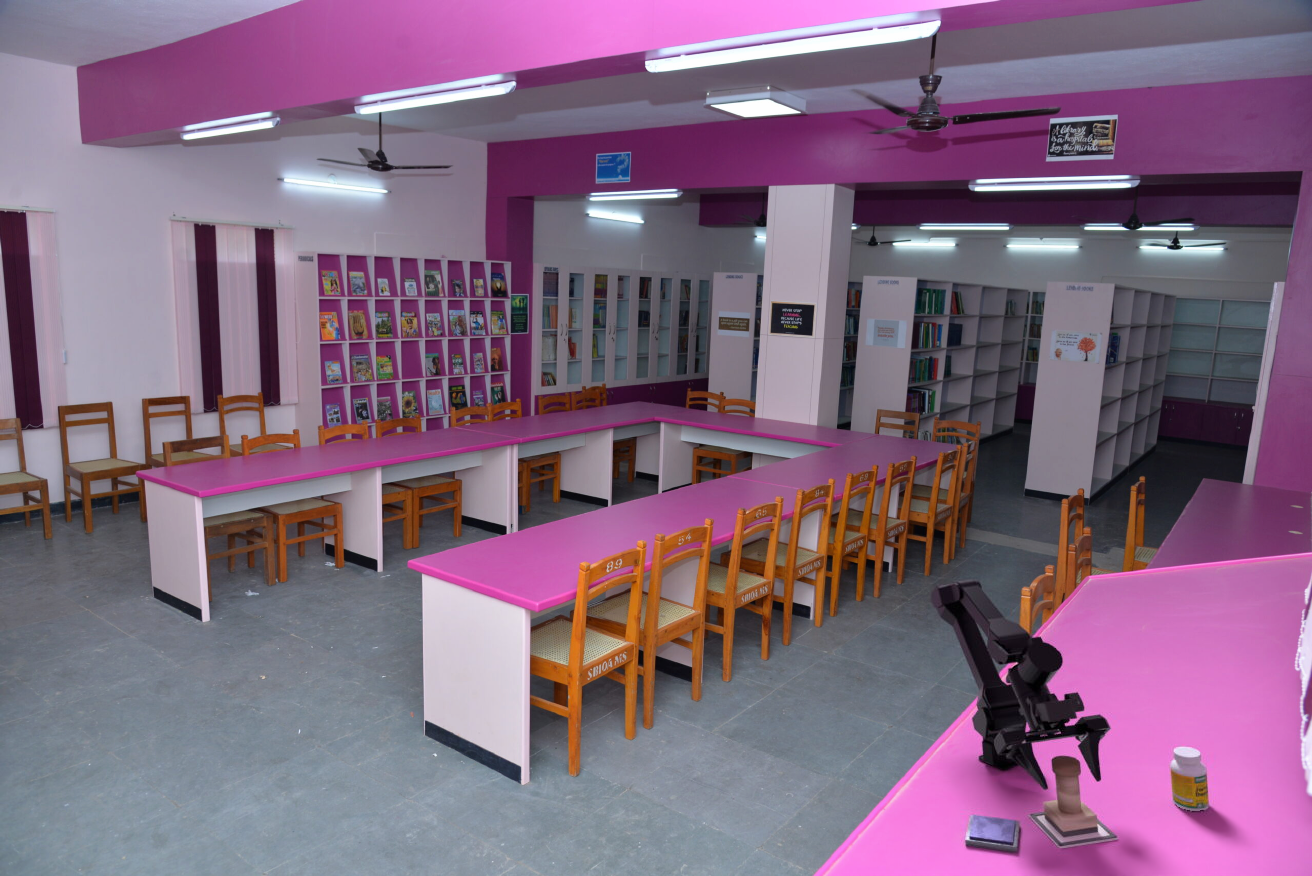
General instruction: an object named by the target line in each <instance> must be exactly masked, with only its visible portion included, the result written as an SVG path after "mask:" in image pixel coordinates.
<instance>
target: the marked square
mask: <svg viewBox="0 0 1312 876" xmlns="http://www.w3.org/2000/svg"><path fill="white" fill-rule="evenodd" d="M1028 817H1029V818H1030V819H1031V820H1032V821H1033V822H1034V823H1035V825H1036V826H1037V827H1038V828H1039V829H1040V830H1041V831H1042V832H1043V833H1044V834H1045V835H1046V836H1047V838H1049V839H1050V840H1051V841H1052V843H1054V844H1055V846H1056V847H1057V848H1058V849H1060V850H1061V849H1065V848H1073V847H1080V846H1085V845H1092V844H1098V843H1105V842H1111V841H1118V840H1119V837H1118V836H1117V834H1115V833H1114V832H1113V831H1112V830H1111V829H1109V827H1107V826H1106V825H1105V824H1104V822H1103V823H1102V821H1100V819H1098V818H1097V823H1098V832H1096V833H1089V834H1083V835H1076V836H1070V837H1063V836H1062V835H1061V834H1060V833H1059V832H1058V831H1057V830H1056V829H1055V828H1054V827H1053V826H1052V825H1051V824H1050V823H1049V822H1048V821H1047V820H1046V819H1045V815H1044V811H1040V812H1034V813H1029V814H1028Z"/></svg>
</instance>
